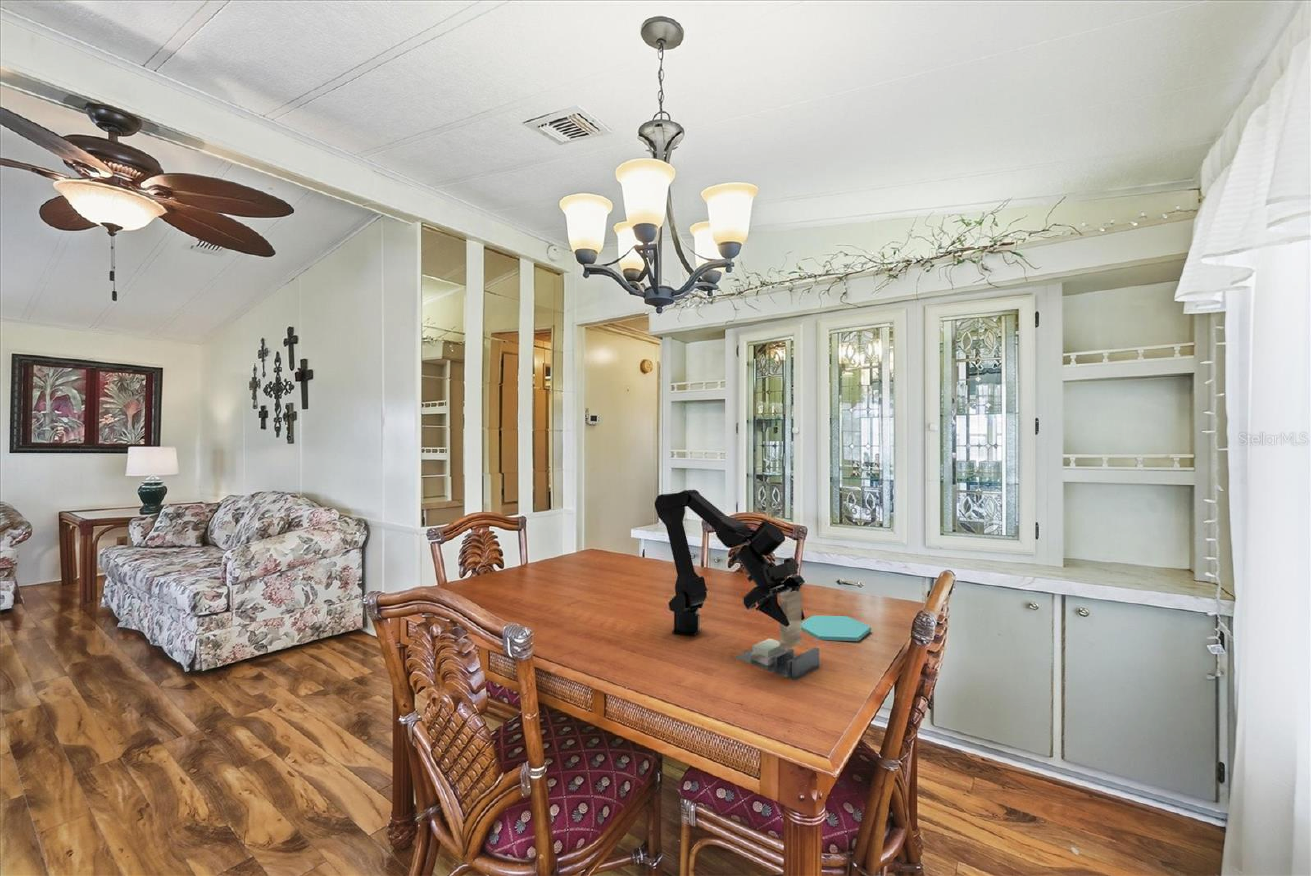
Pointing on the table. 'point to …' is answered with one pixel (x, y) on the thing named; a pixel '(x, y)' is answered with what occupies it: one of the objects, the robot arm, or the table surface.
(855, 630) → the plaque
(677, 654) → the table surface
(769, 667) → the offcut rack
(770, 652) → the offcut upper
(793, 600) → the birch block
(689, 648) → the table surface
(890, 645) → the table surface
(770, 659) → the offcut lower
